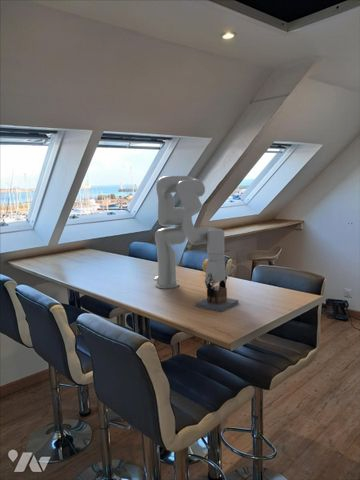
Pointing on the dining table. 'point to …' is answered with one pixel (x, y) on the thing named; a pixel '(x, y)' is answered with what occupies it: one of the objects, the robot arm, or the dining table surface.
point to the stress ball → (204, 265)
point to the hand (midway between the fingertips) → (216, 293)
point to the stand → (216, 307)
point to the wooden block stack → (218, 296)
